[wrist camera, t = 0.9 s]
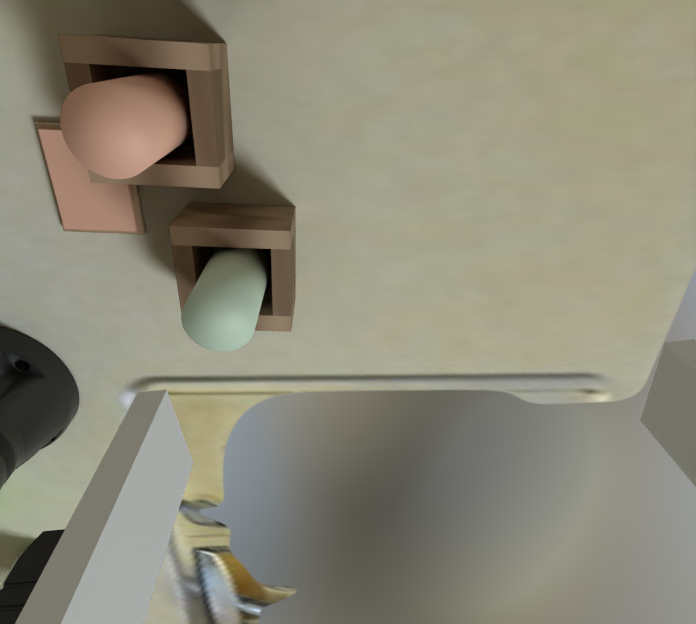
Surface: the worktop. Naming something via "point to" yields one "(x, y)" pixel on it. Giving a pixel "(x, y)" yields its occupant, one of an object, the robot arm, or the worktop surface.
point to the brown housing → (204, 95)
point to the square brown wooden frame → (239, 232)
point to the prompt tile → (87, 191)
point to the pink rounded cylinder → (125, 123)
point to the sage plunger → (227, 299)
